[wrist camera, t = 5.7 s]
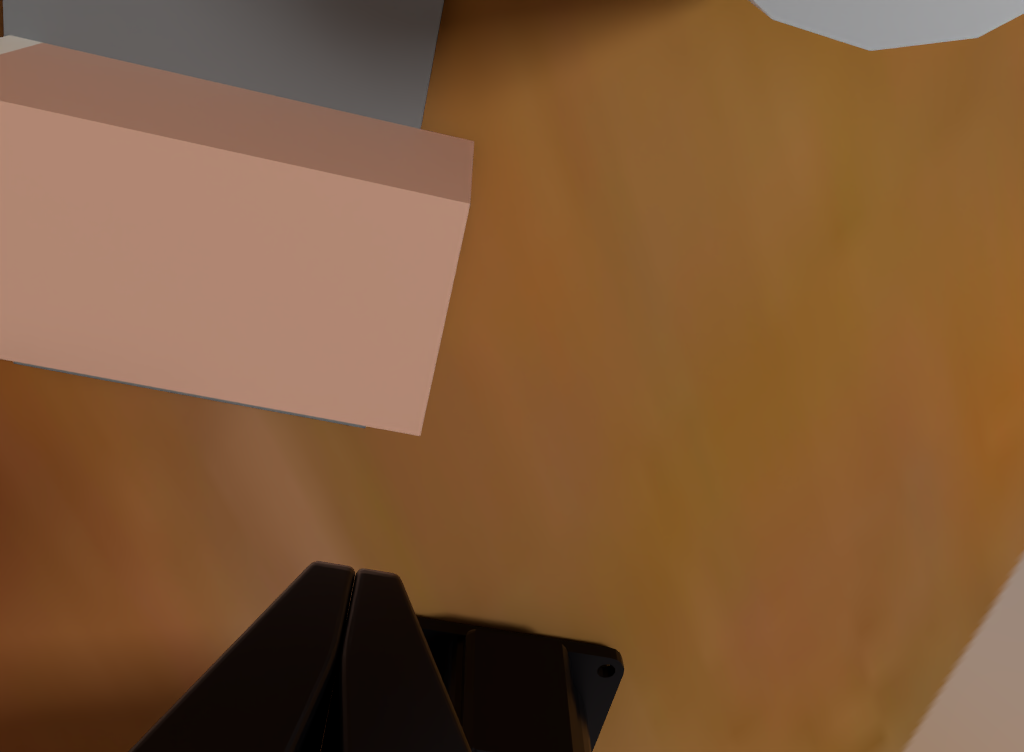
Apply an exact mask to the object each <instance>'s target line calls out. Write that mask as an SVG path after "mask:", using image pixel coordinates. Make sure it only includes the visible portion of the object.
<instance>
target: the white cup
mask: <svg viewBox="0 0 1024 752" xmlns="http://www.w3.org/2000/svg"><path fill="white" fill-rule="evenodd" d="M749 1H750V2H751V3H752V4H754V5H755V6H756V7H757V8H759V9H760V10H761V11H762V12H764V13H765V14H766V15H768V16H769V17H770V18H771V19H773V20H776V21H779V22H782V23H785V24H788V25H791V26H795V27H798V28H801V29H804V30H807V31H810V32H813V33H816V34H819V35H823V36H826V37H829V38H832V39H835V40H838V41H841V42H844V43H847V44H851V45H854V46H857V47H860V48H863V49H866V50H869V51H872V50H881V49H889V48H897V47H905V46H913V45H922V44H930V43H938V42H946V41H954V40H963V39H971V38H978V37H980V36H982V35H984V34H986V33H988V32H989V31H991V30H993V29H995V28H997V27H999V26H1001V25H1003V24H1005V23H1007V22H1008V21H1010V20H1012V19H1014V18H1016V17H1018V16H1020V15H1022V14H1024V0H749Z"/></svg>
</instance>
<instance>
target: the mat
mask: <svg viewBox="0 0 1024 752" xmlns="http://www.w3.org/2000/svg"><path fill="white" fill-rule="evenodd" d="M443 4H444V0H3V20H4V36H8V35H12V36H16V37H20V38H25V39H29V40H34V41H38V42H42V43H47V44H51V45H55V46H60V47H64V48H68V49H73V50H77V51H82V52H86V53H90V54H95V55H99V56H103V57H108V58H112V59H117V60H121V61H125V62H130V63H134V64H138V65H143V66H147V67H151V68H156V69H160V70H165V71H169V72H173V73H178V74H182V75H186V76H191V77H195V78H200V79H204V80H208V81H213V82H217V83H221V84H226V85H230V86H234V87H239V88H243V89H248V90H252V91H256V92H261V93H265V94H269V95H274V96H278V97H283V98H287V99H291V100H296V101H300V102H304V103H309V104H313V105H317V106H322V107H326V108H331V109H335V110H339V111H344V112H348V113H352V114H357V115H361V116H366V117H370V118H374V119H379V120H383V121H387V122H392V123H396V124H400V125H405V126H409V127H414V128H418V129H421V124H422V119H423V113H424V108H425V102H426V97H427V92H428V86H429V81H430V75H431V70H432V64H433V59H434V53H435V48H436V42H437V37H438V32H439V26H440V21H441V15H442V10H443ZM14 364H20V365H25V366H31V367H36V368H41V369H47V370H52V371H58V372H63V373H68V374H74V375H79V376H85V377H90V378H95V379H101V380H106V381H112V382H117V383H122V384H128V385H133V386H139V387H144V388H150V389H155V390H160V391H166V392H171V393H177V394H182V395H187V396H193V397H198V398H204V399H209V400H214V401H220V402H225V403H231V404H236V405H241V406H247V407H252V408H258V409H263V410H269V411H274V412H279V413H285V414H290V415H296V416H301V417H306V418H312V419H317V420H323V421H328V422H333V423H339V424H344V425H350V426H355V427H360V428H365V427H366V426H363V425H357V424H352V423H346V422H341V421H335V420H330V419H325V418H319V417H314V416H308V415H303V414H297V413H292V412H286V411H281V410H276V409H270V408H265V407H259V406H254V405H248V404H243V403H238V402H232V401H227V400H221V399H216V398H210V397H205V396H200V395H194V394H189V393H183V392H178V391H172V390H167V389H161V388H156V387H151V386H145V385H140V384H134V383H129V382H123V381H118V380H113V379H107V378H102V377H96V376H91V375H85V374H80V373H75V372H69V371H64V370H58V369H53V368H47V367H42V366H36V365H31V364H26V363H20V362H15V361H14Z"/></svg>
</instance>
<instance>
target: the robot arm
mask: <svg viewBox="0 0 1024 752" xmlns="http://www.w3.org/2000/svg"><path fill="white" fill-rule="evenodd" d="M354 577H355V580H354ZM353 583H354V585H353ZM352 588H353V590H352ZM351 593H352V595H351ZM350 598H351V600H350ZM349 603H350V605H349ZM348 609H349V610H348ZM347 614H348V615H347ZM346 619H347V620H346ZM345 624H346V625H345ZM606 664H609V666H607V667H601V666H602V665H606ZM623 673H624V666H623V660H622V656H621V654H620V653H619V652H618V651H617V650H616V649H613V648H610V647H604V646H597V645H591V644H585V643H578V642H572V641H566V640H559V639H553V638H547V637H540V636H534V635H528V634H522V633H515V632H509V631H503V630H496V629H490V628H484V627H477V626H471V625H465V624H458V623H452V622H446V621H440V620H433V619H427V618H421V617H416V614H415V612H414V610H413V607H412V605H411V602H410V600H409V597H408V595H407V592H406V590H405V587H404V585H403V583H402V581H401V579H400V577H399V576H398V575H396V574H394V573H389V572H382V571H376V570H370V569H360V570H359V571H358V572H357V573H356V575H355V571H354V569H353V568H352V567H350V566H346V565H339V564H333V563H327V562H321V561H316V562H313V563H311V564H310V565H309V566H308V567H307V568H306V569H305V570H304V571H303V572H302V573H301V574H300V575H299V576H298V577H297V578H296V579H295V580H294V581H293V582H292V583H291V584H290V585H289V586H288V588H287V589H286V590H285V591H284V592H283V593H282V594H281V595H280V596H279V597H278V598H277V599H276V600H275V601H274V602H273V603H272V604H271V605H270V606H269V607H268V608H267V609H266V610H265V611H264V612H263V613H262V614H261V615H260V616H259V617H258V618H257V619H256V620H255V622H254V623H253V624H252V625H251V626H250V627H249V628H248V629H247V630H246V631H245V632H244V633H243V634H242V635H241V636H240V637H239V638H238V639H237V640H236V641H235V642H234V643H233V644H232V645H231V646H230V647H229V648H228V649H227V650H226V651H225V652H224V653H223V654H222V656H221V657H220V658H219V659H218V660H217V661H216V662H215V663H214V664H213V665H212V666H211V667H210V668H209V669H208V670H207V671H206V672H205V673H204V674H203V675H202V676H201V677H200V678H199V679H198V680H197V681H196V682H195V683H194V684H193V685H192V686H191V687H190V688H189V690H188V691H187V692H186V693H185V694H184V695H183V696H182V697H181V698H180V699H179V700H178V701H177V702H176V703H175V704H174V705H173V706H172V707H171V708H170V709H169V710H168V711H167V712H166V713H165V714H164V715H163V716H162V717H161V718H160V719H159V720H158V721H157V722H156V724H155V725H154V726H153V727H152V728H151V729H150V730H149V731H148V732H147V733H146V734H145V735H144V736H143V737H142V738H141V739H140V740H139V741H138V742H137V743H136V744H135V745H134V746H133V747H132V748H131V749H130V750H129V751H128V752H320V750H321V752H592V751H593V749H594V746H595V744H596V741H597V739H598V736H599V734H600V731H601V729H602V726H603V724H604V721H605V719H606V716H607V714H608V711H609V709H610V706H611V704H612V701H613V699H614V696H615V694H616V691H617V689H618V686H619V684H620V681H621V679H622V676H623ZM333 685H334V686H333ZM332 690H333V691H332ZM331 695H332V696H331ZM330 700H331V701H330ZM329 705H330V706H329ZM328 710H329V711H328ZM327 715H328V717H327ZM326 720H327V722H326ZM325 725H326V727H325ZM324 730H325V732H324ZM323 735H324V737H323ZM322 740H323V743H322ZM321 745H322V748H321Z"/></svg>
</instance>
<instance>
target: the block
mask: <svg viewBox="0 0 1024 752" xmlns="http://www.w3.org/2000/svg"><path fill="white" fill-rule="evenodd" d="M473 152H474V141H470V140H466V139H462V138H457V137H453V136H449V135H444V134H440V133H435V132H431V131H427V130H422V129H418V128H414V127H409V126H405V125H400V124H396V123H392V122H387V121H383V120H379V119H374V118H370V117H366V116H361V115H357V114H352V113H348V112H344V111H339V110H335V109H331V108H326V107H322V106H317V105H313V104H309V103H304V102H300V101H296V100H291V99H287V98H283V97H278V96H274V95H269V94H265V93H261V92H256V91H252V90H248V89H243V88H239V87H234V86H230V85H226V84H221V83H217V82H213V81H208V80H204V79H200V78H195V77H191V76H186V75H182V74H178V73H173V72H169V71H165V70H160V69H156V68H151V67H147V66H143V65H138V64H134V63H130V62H125V61H121V60H117V59H112V58H108V57H103V56H99V55H95V54H90V53H86V52H82V51H77V50H73V49H68V48H64V47H60V46H55V45H51V44H47V43H42V42H38V41H34V40H29V39H25V38H20V37H16V36H12V35H8V36H4V37H0V359H4V360H9V361H15V362H20V363H26V364H31V365H36V366H42V367H47V368H53V369H58V370H64V371H69V372H75V373H80V374H85V375H91V376H96V377H102V378H107V379H113V380H118V381H123V382H129V383H134V384H140V385H145V386H151V387H156V388H161V389H167V390H172V391H178V392H183V393H189V394H194V395H200V396H205V397H210V398H216V399H221V400H227V401H232V402H238V403H243V404H248V405H254V406H259V407H265V408H270V409H276V410H281V411H286V412H292V413H297V414H303V415H308V416H314V417H319V418H325V419H330V420H335V421H341V422H346V423H352V424H357V425H363V426H368V427H373V428H379V429H384V430H390V431H395V432H401V433H406V434H411V435H417V436H420V435H421V430H422V425H423V421H424V416H425V411H426V407H427V402H428V397H429V393H430V388H431V383H432V379H433V374H434V370H435V365H436V360H437V356H438V351H439V346H440V342H441V337H442V332H443V328H444V323H445V319H446V314H447V309H448V305H449V300H450V295H451V291H452V286H453V281H454V277H455V272H456V268H457V263H458V258H459V254H460V249H461V244H462V240H463V235H464V230H465V226H466V221H467V217H468V212H469V207H470V200H471V184H472V168H473Z"/></svg>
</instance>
